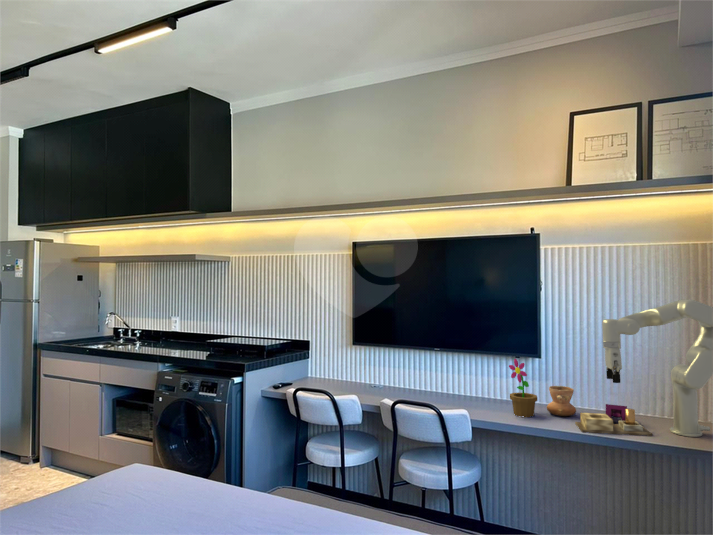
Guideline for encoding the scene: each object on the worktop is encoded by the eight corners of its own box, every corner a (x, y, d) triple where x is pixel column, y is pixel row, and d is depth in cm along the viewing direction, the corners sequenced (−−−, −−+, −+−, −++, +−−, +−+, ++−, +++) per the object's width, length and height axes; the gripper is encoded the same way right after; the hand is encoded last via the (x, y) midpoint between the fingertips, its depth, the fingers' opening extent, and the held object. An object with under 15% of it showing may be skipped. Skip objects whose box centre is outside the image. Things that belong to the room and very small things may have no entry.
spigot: (633, 427, 234) (633, 408, 234) (636, 430, 230) (636, 410, 231) (624, 427, 235) (624, 408, 235) (627, 429, 231) (626, 410, 231)
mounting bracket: (607, 428, 256) (605, 421, 243) (607, 412, 260) (605, 404, 246) (627, 431, 252) (627, 423, 238) (627, 414, 255) (626, 406, 241)
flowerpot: (503, 413, 264) (503, 357, 265) (522, 410, 271) (522, 355, 272) (524, 419, 252) (523, 361, 253) (543, 416, 259) (543, 359, 260)
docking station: (641, 427, 238) (641, 414, 238) (652, 436, 224) (652, 422, 225) (575, 423, 244) (575, 411, 244) (582, 432, 231) (581, 419, 231)
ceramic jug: (574, 420, 251) (574, 392, 252) (544, 416, 258) (544, 388, 259) (577, 412, 266) (577, 386, 267) (549, 409, 274) (549, 383, 274)
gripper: (626, 347, 227) (627, 384, 226) (614, 342, 243) (616, 377, 243) (608, 347, 228) (610, 384, 227) (598, 342, 245) (599, 377, 244)
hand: (613, 380), depth 235 cm, fingers open, 9 cm apart
